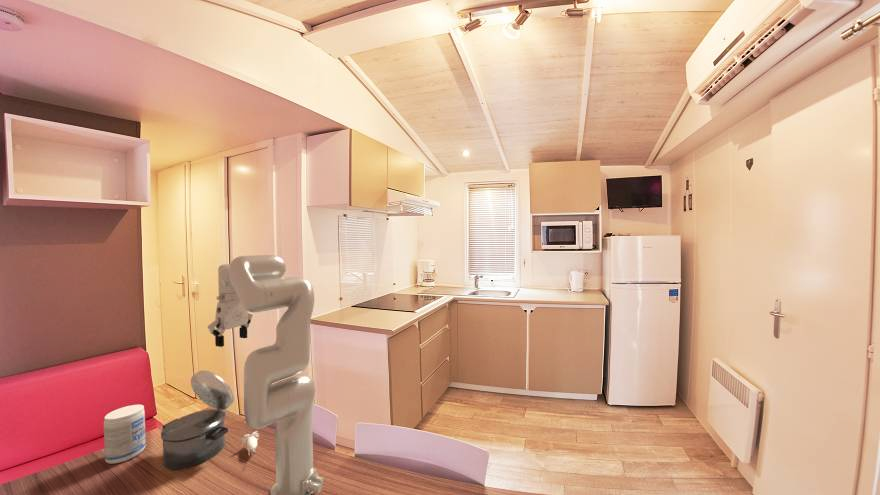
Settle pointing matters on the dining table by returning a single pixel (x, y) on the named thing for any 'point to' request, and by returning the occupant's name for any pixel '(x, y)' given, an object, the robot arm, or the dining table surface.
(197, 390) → the pot lid
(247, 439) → the white toy bomb
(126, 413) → the supplement tub
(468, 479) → the dining table surface
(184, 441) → the pot
